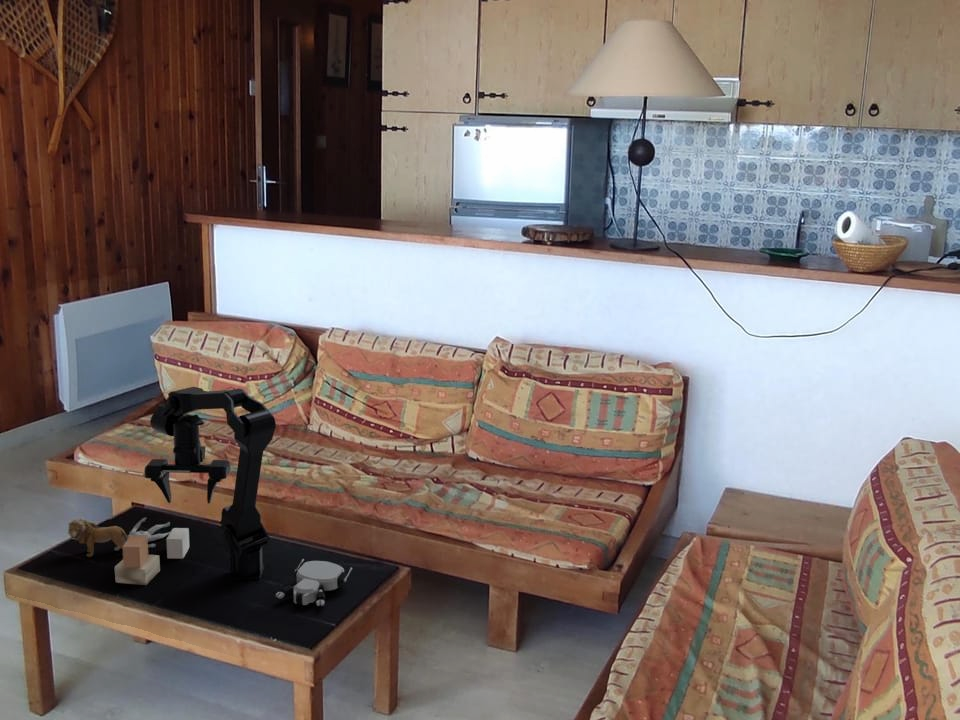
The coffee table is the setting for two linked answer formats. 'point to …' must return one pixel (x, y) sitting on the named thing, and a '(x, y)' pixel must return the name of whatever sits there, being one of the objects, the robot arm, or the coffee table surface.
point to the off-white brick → (178, 543)
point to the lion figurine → (95, 534)
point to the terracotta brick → (135, 551)
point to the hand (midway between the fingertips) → (189, 502)
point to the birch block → (138, 571)
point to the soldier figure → (148, 532)
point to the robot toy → (314, 582)
